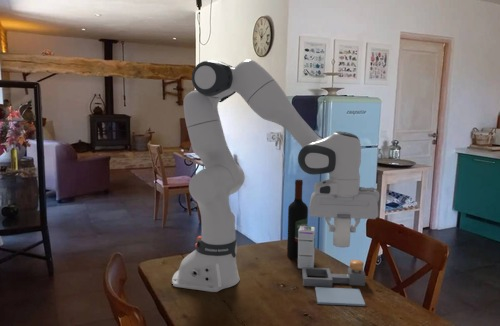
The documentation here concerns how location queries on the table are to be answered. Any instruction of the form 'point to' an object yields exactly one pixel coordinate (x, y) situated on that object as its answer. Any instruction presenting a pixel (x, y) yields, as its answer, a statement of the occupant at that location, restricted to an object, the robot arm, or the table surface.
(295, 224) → the wine bottle
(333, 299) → the mat
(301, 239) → the syrup box
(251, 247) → the table surface
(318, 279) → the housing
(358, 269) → the plunger
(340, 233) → the white jar
